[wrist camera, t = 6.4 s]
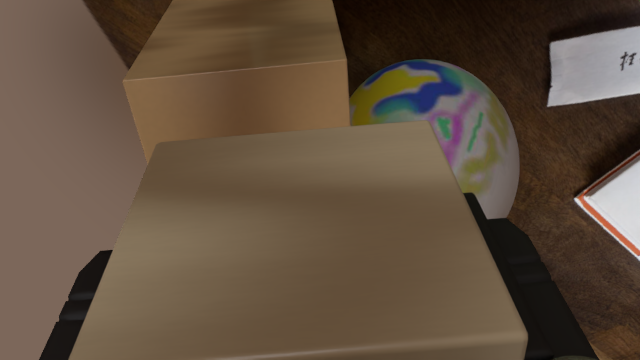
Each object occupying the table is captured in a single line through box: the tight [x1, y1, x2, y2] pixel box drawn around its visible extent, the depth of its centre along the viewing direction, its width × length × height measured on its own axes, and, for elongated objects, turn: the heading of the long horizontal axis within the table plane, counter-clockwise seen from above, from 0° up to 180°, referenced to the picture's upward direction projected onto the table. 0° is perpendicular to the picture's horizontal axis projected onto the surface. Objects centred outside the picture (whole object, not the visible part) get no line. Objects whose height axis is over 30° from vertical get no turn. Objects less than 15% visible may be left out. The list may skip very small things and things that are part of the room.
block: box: [68, 120, 528, 360], centre depth 8 cm, size 5×5×5 cm
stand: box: [123, 0, 351, 164], centre depth 30 cm, size 8×8×20 cm
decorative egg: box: [349, 59, 519, 219], centre depth 37 cm, size 12×12×15 cm
